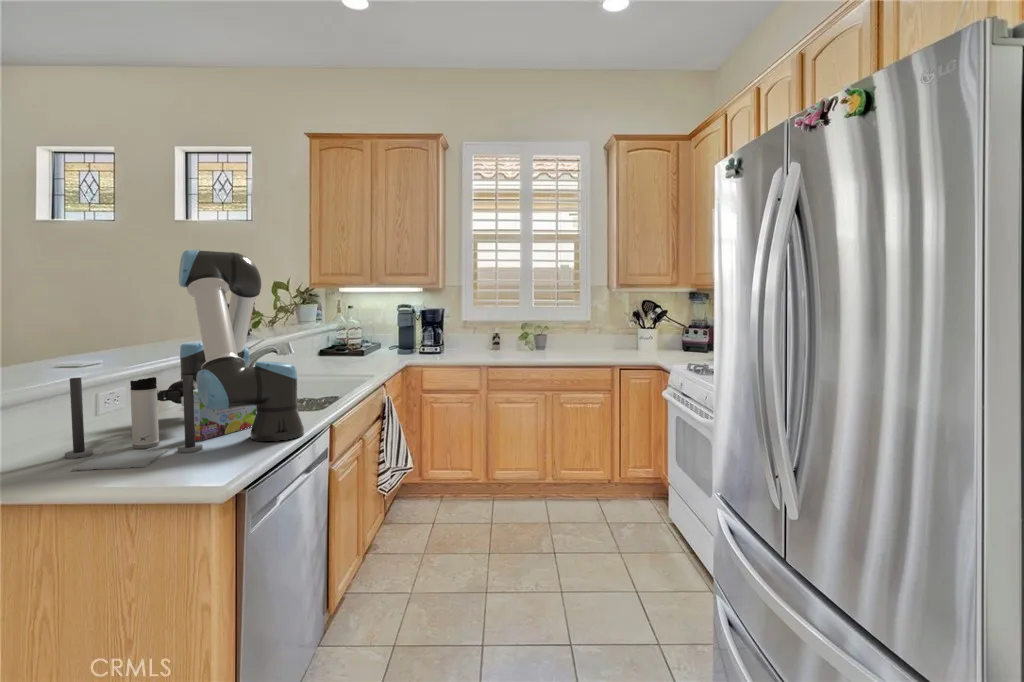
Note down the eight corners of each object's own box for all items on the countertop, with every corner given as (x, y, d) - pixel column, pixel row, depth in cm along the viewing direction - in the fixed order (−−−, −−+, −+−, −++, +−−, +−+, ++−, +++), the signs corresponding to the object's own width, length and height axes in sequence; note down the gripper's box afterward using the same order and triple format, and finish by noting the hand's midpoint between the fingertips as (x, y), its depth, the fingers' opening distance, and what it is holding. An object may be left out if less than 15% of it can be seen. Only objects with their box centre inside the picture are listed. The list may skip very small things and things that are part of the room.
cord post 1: (99, 453, 147) (95, 377, 146) (77, 459, 141) (73, 380, 140) (81, 451, 148) (77, 376, 147) (58, 457, 142) (54, 379, 141)
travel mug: (146, 449, 151) (144, 379, 150) (127, 448, 152) (124, 378, 151) (165, 444, 157) (162, 376, 156) (146, 442, 158) (143, 375, 157)
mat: (169, 450, 151) (169, 448, 151) (144, 467, 135) (144, 465, 135) (104, 453, 147) (103, 451, 147) (70, 471, 131) (70, 469, 131)
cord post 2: (207, 448, 153) (205, 374, 152) (191, 453, 147) (188, 377, 146) (189, 446, 155) (187, 374, 153) (172, 452, 149) (169, 376, 147)
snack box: (201, 441, 160) (200, 391, 159) (187, 439, 162) (186, 390, 161) (257, 426, 180) (256, 382, 179) (245, 425, 182) (243, 381, 181)
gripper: (223, 400, 187) (203, 413, 166) (142, 403, 181) (111, 416, 160) (223, 379, 186) (202, 389, 165) (141, 381, 180) (110, 391, 160)
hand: (157, 402), depth 163 cm, fingers open, 13 cm apart
